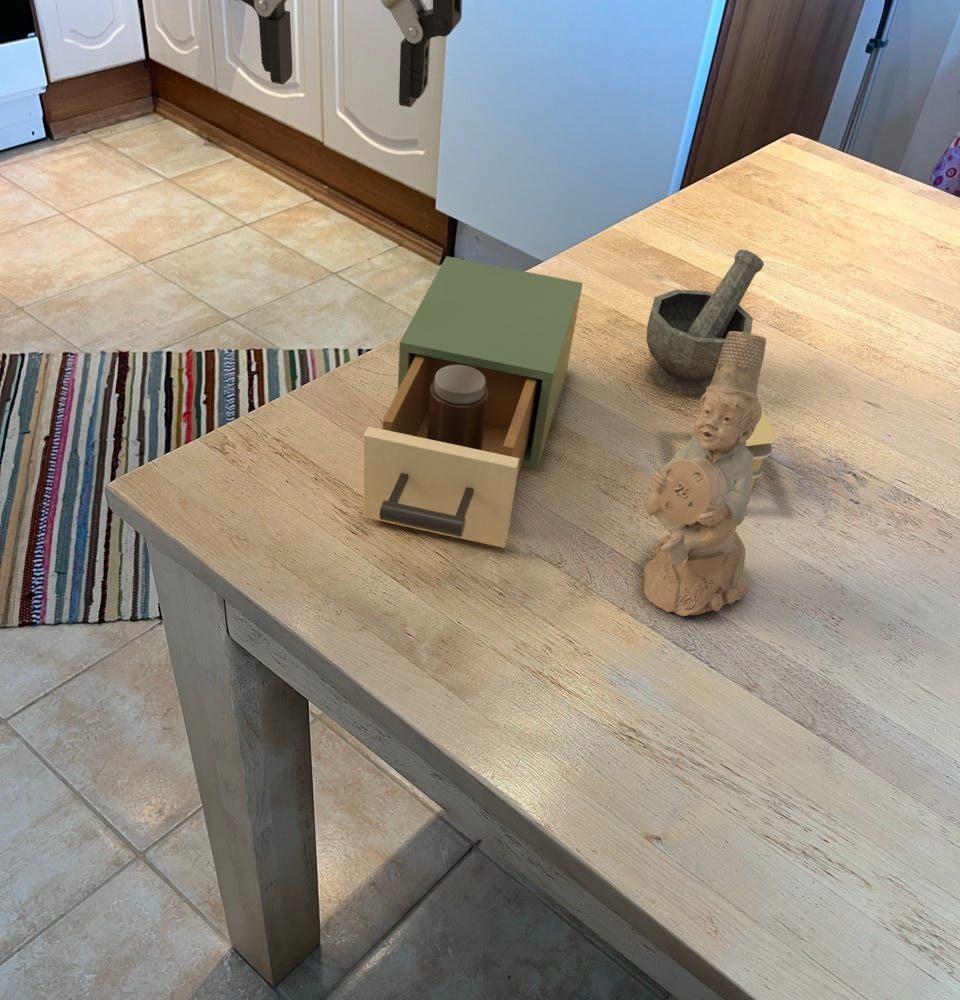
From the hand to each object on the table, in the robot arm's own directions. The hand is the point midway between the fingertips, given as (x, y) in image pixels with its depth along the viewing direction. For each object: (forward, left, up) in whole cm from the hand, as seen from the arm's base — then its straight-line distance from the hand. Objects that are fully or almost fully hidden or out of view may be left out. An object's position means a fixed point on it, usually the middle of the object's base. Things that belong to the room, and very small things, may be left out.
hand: (344, 91), depth 63 cm
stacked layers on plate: (+32, +7, -28) cm, 43 cm away
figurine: (+30, -8, -28) cm, 42 cm away
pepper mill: (+10, -3, -26) cm, 28 cm away
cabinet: (+10, +10, -28) cm, 31 cm away
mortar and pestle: (+28, +22, -28) cm, 45 cm away
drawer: (+10, -5, -27) cm, 29 cm away
